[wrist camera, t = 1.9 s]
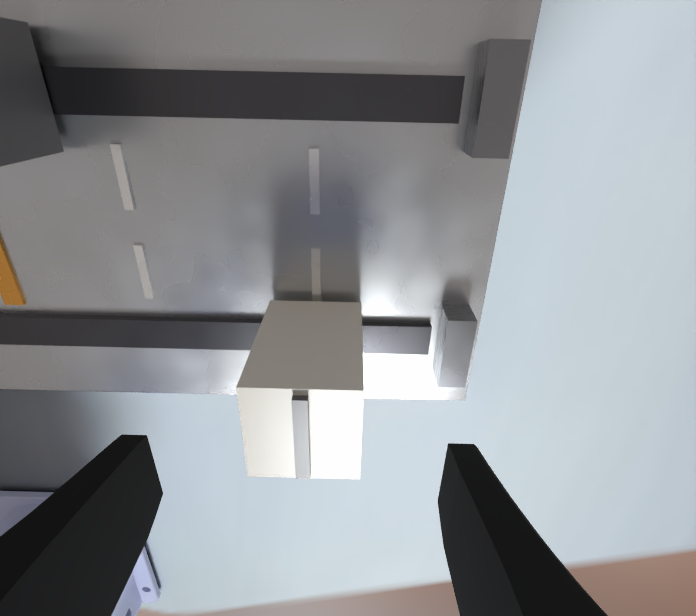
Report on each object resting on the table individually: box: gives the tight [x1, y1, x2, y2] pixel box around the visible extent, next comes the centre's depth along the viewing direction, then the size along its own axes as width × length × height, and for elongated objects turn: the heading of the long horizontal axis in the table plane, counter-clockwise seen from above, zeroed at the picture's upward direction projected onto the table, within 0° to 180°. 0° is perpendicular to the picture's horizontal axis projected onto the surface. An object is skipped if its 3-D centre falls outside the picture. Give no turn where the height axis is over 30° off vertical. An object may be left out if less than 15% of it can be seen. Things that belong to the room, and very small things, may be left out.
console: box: [0, 0, 542, 400], centre depth 14 cm, size 14×24×2 cm, turn 89°
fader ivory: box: [236, 300, 364, 479], centre depth 13 cm, size 3×3×5 cm
